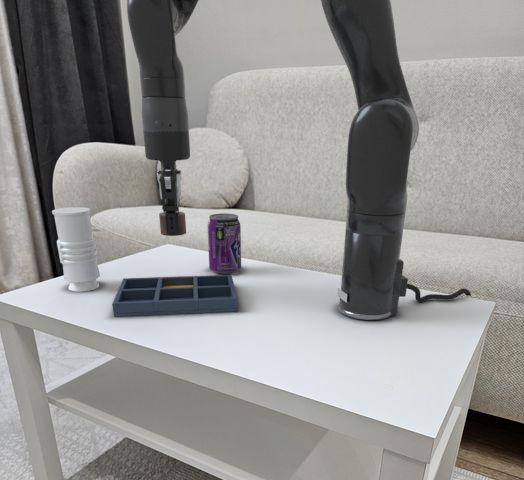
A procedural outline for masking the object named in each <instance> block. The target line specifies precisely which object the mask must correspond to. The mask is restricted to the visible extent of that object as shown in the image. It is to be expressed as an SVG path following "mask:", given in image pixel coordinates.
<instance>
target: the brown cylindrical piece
mask: <svg viewBox="0 0 524 480" xmlns="http://www.w3.org/2000/svg"><path fill="white" fill-rule="evenodd" d="M158 217H159V229H160V230H159V231H160V235H162V236H166V237H179V236H184V235H186V234H187V221H186V213H185V212H183V211H179V212H178V220H179V234H178V235H167V232H166V220H165V214H164V212H163V211H162V212H160V213H159V214H158Z"/></svg>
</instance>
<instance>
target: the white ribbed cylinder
mask: <svg viewBox="0 0 524 480" xmlns="http://www.w3.org/2000/svg"><path fill="white" fill-rule="evenodd" d="M90 213H91V208H89V207H84V206H83V207H82V206H71V207H69V206H68V207H61V208H60V207H59V208H56V209H53V210H52V211H51V214H52V215H53V216H54V217H53V218H54V222H55V228H56V233H57V240H56V247H57V251H58V257H59V262H60V264H61V265H62V270H63V279H64V281H67V282H69V284H68V290H69V291H71V292H80V293H81V292H89V291H93V290H96V289H98V288H99V287H100V284H99V282H98V281H97V279H99V278H100V277H101V274H100V273H101V272H100V269H99V265H98V259H99V258H98V257H99V256H98V255H97V254H98V251H97V249H96V248H97V244H96V243H95V242H96V238H95V237H94V235H93V228H92V222H91V214H90Z"/></svg>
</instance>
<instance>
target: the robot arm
mask: <svg viewBox="0 0 524 480" xmlns="http://www.w3.org/2000/svg"><path fill="white" fill-rule="evenodd" d="M198 3H199V0H126V14H127V21H128V27H129V30H130V34H131V40H132V43H133V48H134V52H135V55H136V59H137V63H138V68H139V80H140V93H141V94H140V95H141V121H142V132H143V144H144V154H145V158H146V159H147V160H150V161H159V162H160V170H158V171H157V172H156V177H157V182H158V187H159V197H160V198H159V199H160V200H161V203H162V206H161V210H162V212H164V214H165V220H166V232H167V235H178V234H179V220H178V212H180V206H181V202H180V201H181V196H182V186H181V182H182V170H181V169H178V168H177V161H185V160H186V161H187V160H189V159H190V157H191V145H190V144H191V143H190V127H189V112H188V107H187V100H186V83H185V82H186V81H185V71H184V65H183V63H182V60H181V59H180V57H179V55H178V51H177V43H176V36H177V35H179V33H181V32H182V31H183V30H184V28H185V26H186V24H187V23H188V22H189V21H190V19H191V17H192V15H193V13H194V11H195V9H196V7H197V5H198ZM320 3H321V7H322V10H323V14H324V16H325V20H326V23H327V26H328V27H329V30H330V32H331V35H332V38H333V39H334V42H335V44H336V46H337V48H338V50H339V53H340V54H341V56H342V58H343V61H344V63H345V65H346V68H347V70H348V72H349V75H350V79H351V82H352V85H353V89H354V94H355V100H356V105H357V112H356V113H355V115H354V117H353V118H352V121H351V123H350V127H349V132H348V140H347V151H346V152H347V153H346V171H345V192H346V196H347V198H346V199H347V207H346V219H345V231H344V244H343V255H342V267H341V269H342V270H341V279H340V280H341V281H340V288H339V287H337V292H336V293H337V294H336V296H337V297H338V298H339V302H338V303H339V304H338V311H339V312H340V313H341V314H343V315H344V316H347V317H348V318H351V319H352V318H353V319H357V320H362V321H378V320H379V321H380V320H385V319H388V318H390V317H395V316H396V317H397V315H398V309H399V302H400V301H399V300H400V298H401V297H402V298H404V297H406V296H407V290H410V291H412V292H414V294H415V297H414V298H415V301H416V302H418V303H424V302H426V301H429V300H444V301H445V300H453V299H456V298H458V297H460V296H461V295H463V294H464V295H465V296H466V297H467V296H468V297H471V296H472V293H471V291H470V290H468V289H467V288H461V289H460V288H459V289H458V290H457V291H455V292H453V293H451V294H437V293H436V294H435V293H430V294H426V295H424V296H421V290H420V289H419V288H418V287H417V286H415V285H414V284H411V283H408V281H409V278H407V277H406V276H405V275H403V273H404V272H403V271H404V265H405V264H404V263H405V262H404V261H403V259H401V258H400V257H401V251H402V250H401V249H402V243H403V236H404V235H403V234H404V226H405V220H406V219H405V218H406V211H407V206H408V189H407V187H408V173H409V167H410V166H409V165H410V157H411V152H412V151H413V150H414V147H415V146H416V143H417V141H418V138H419V132H420V125H419V119H418V115H417V112H416V109H415V107H414V104H413V101H412V98H411V95H410V93H409V90H408V89H409V88H408V86H407V83H406V80H405V76H404V73H403V70H402V65H401V62H400V57H399V52H398V44H397V37H396V28H395V22H394V15H393V14H394V13H393V8H392V2H391V0H320Z"/></svg>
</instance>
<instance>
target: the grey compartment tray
mask: <svg viewBox="0 0 524 480" xmlns="http://www.w3.org/2000/svg"><path fill="white" fill-rule="evenodd" d="M238 303H239V300H238V295H237V291H236V287H235V283H234V279H233V275H232V274H213V275H211V274H210V275H185V276H182V275H181V276H155V277H154V276H153V277H126V278H125V277H124V278H122V281H121V283H120V285H119V287H118V290H117V292H116V293H115V297H114V299H113V301H112V304H111V305H112V311H113V312H112V313H113V317H115V318H117V317H142V316H162V315H163V316H164V315H184V314H185V315H187V314H208V313H210V314H211V313H233V312H234V313H235V312H238V311H239V304H238Z"/></svg>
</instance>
